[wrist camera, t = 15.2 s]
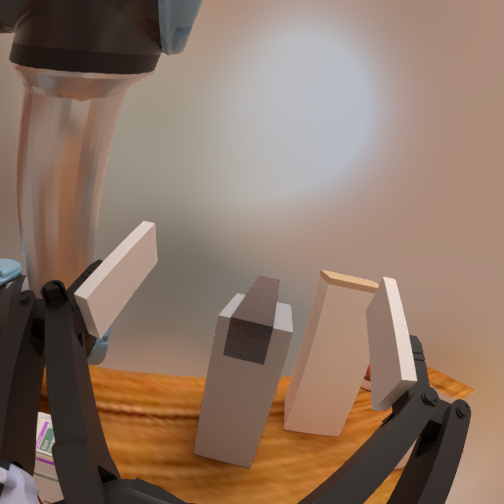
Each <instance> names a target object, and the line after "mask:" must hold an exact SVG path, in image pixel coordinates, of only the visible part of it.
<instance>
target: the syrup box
mask: <svg viewBox="0 0 504 504" xmlns="http://www.w3.org/2000/svg"><path fill="white" fill-rule="evenodd" d="M54 443H55V438H54V432H53V427H52V421H51V415H50V414H46V413H42V412H38V421H37V435H36V458H35V469H34V475H33V479H34V480H35V482H36V485H38V487H39V491H40V492H39V494H38V496H39V497H40V499H41V501H42V503H43V504H50V503H54V502H57V501H60V500H63V499H64V498H63V494H62V491H61V488H60V484H59V481H58V477H57V474H56V470H55V466H54V461H53V457H52V451H51V449H52V445H53V444H54Z"/></svg>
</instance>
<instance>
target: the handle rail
mask: <svg viewBox="0 0 504 504" xmlns="http://www.w3.org/2000/svg"><path fill="white" fill-rule="evenodd" d="M278 288H279V280H277V279H272V278H268V277H264V276H258V278H257V280H256V281H255V282H254V284H253V285H252V287H251V288H250V290H249V291H248V293H247V294H246V295H245V297H244V298H243V300H242V301H241V303H240V304H239V306H238V307H237V309H236V310H235V311H234V313H233V314H232V316H231V318H230V323H229V328H228V333H227V338H226V342H225V347H224V352H223V355H225V356H229V357H232V358H236V359H240V360H244V361H249V362H253V363H257V364H261V365H264V362H265V358H266V355H267V351H268V347H269V343H270V339H271V335H272V331H273V327H274V320H275V312H276V305H277V296H278Z"/></svg>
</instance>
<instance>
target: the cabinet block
mask: <svg viewBox="0 0 504 504" xmlns="http://www.w3.org/2000/svg"><path fill="white" fill-rule="evenodd" d="M378 287H379V284H377V283H375V282H373V281H370V280H366V279H361V278H357V277H352V276H348V275H343V274H339V273H334V272H330V271H325V270H321V271H320V275H319V280H318V284H317V288H316V292H315V296H314V300H313V304H312V307H311V311H310V315H309V319H308V322H307V326H306V330H305V333H304V337H303V341H302V344H301V347H300V351H299V354H298V358H297V361H296V364H295V368H294V371H293V374H292V377H291V381H290V384H289V387H288V390H287V393H286V396H285V408H284V430H290V431H296V432H302V433H310V434H317V435H326V436H336V437H338V436H339V434H340V432H341V430H342V428H343V426H344V424H345V421H346V419H347V417H348V415H349V413H350V410H351V408H352V406H353V403H354V401H355V399H356V396H357V394H358V391H359V389H360V387H361V384H362V381H363V379H364V376H365V374H366V371H367V368H368V366H369V363H370V357H369V343H368V332H367V322H366V312H365V311H366V310H367V308H368V306H369V304H370V302H371V300H372V298H373V296H374V294H375V292H376V290H377V289H378Z"/></svg>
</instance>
